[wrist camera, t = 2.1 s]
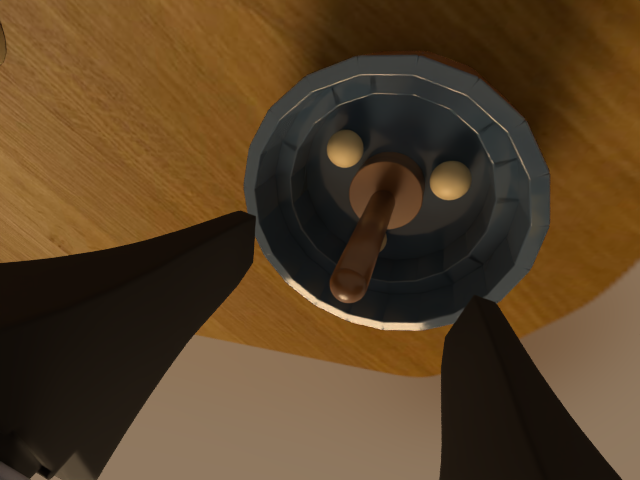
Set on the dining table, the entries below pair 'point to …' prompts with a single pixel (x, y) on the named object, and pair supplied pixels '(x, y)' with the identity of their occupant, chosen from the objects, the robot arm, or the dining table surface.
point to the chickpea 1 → (345, 148)
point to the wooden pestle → (376, 217)
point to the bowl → (435, 214)
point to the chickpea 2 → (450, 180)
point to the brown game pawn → (2, 46)
